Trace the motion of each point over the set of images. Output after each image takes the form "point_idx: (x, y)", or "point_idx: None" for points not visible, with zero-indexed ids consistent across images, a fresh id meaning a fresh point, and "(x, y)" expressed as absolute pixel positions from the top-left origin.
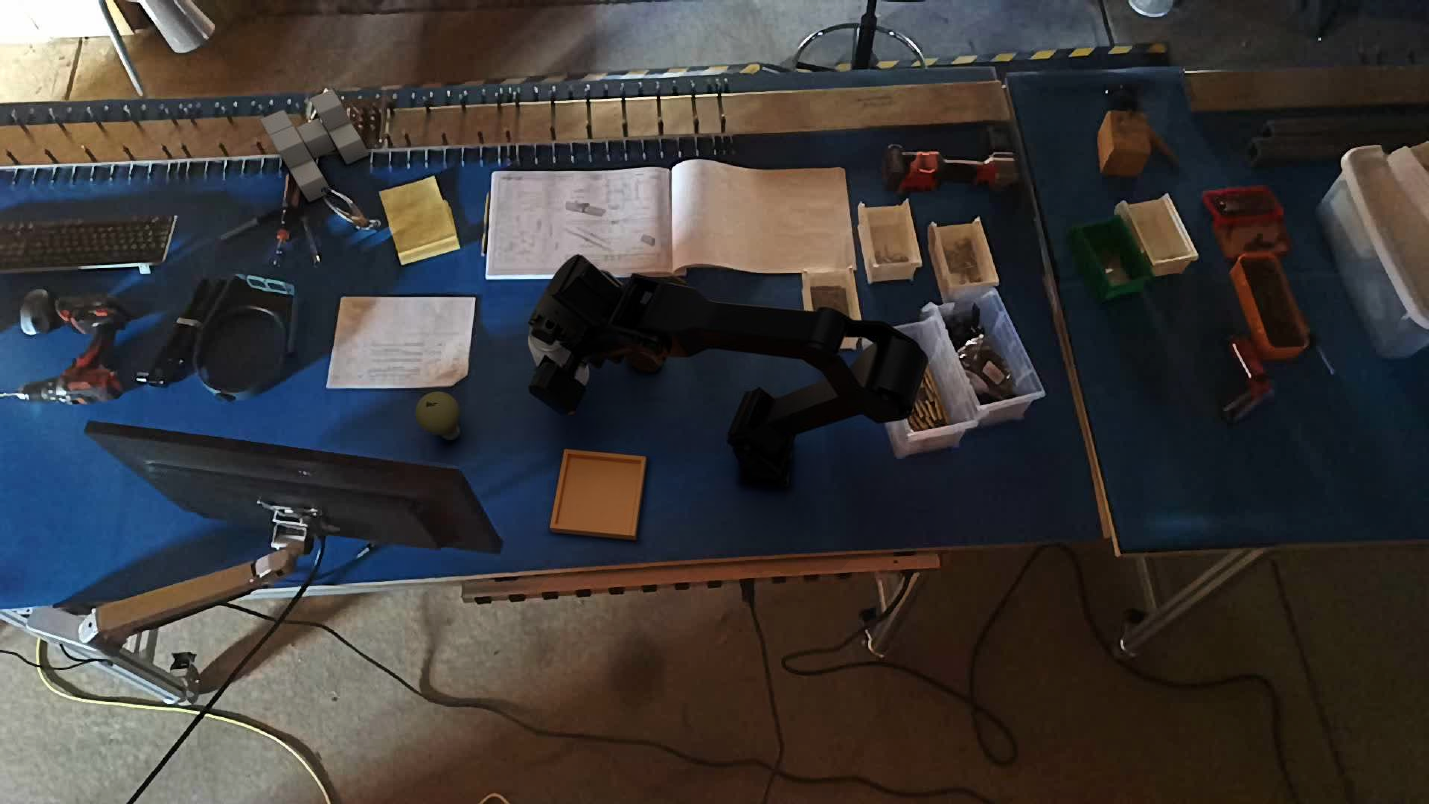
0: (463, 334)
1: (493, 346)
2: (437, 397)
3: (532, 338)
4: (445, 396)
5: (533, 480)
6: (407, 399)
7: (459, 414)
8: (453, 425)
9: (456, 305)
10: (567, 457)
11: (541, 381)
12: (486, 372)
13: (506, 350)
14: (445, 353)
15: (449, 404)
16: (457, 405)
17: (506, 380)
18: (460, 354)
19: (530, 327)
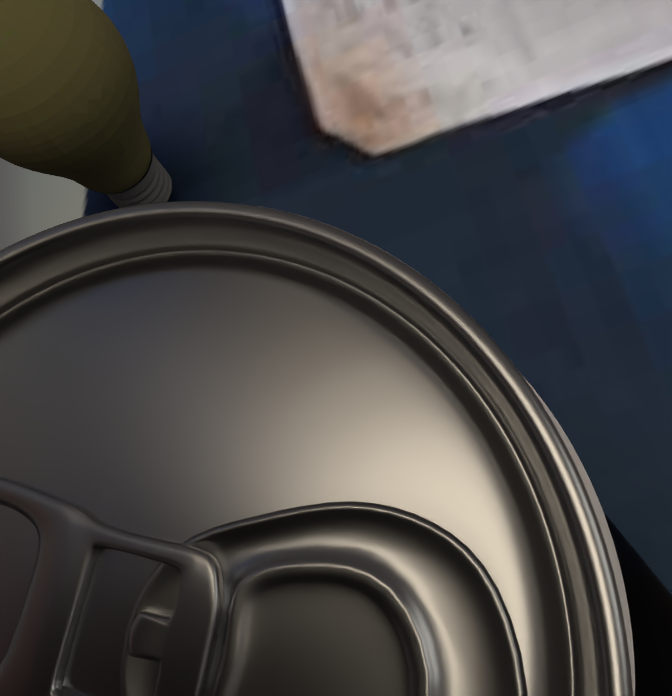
0: (532, 75)
1: (517, 187)
2: (8, 10)
3: (19, 315)
4: (41, 46)
5: None
6: (250, 37)
7: (53, 158)
8: (2, 157)
9: (647, 3)
10: None
11: None
12: (400, 208)
13: (515, 238)
14: (437, 58)
15: (7, 79)
16: (58, 125)
17: None
18: (447, 101)
19: (162, 206)
